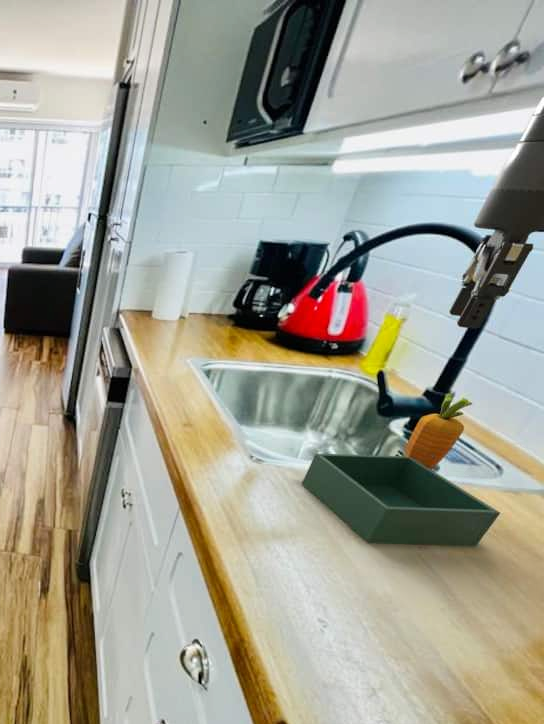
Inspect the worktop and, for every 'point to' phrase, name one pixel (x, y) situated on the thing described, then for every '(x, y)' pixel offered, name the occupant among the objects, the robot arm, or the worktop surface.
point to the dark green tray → (397, 500)
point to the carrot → (436, 433)
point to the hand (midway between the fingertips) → (462, 321)
